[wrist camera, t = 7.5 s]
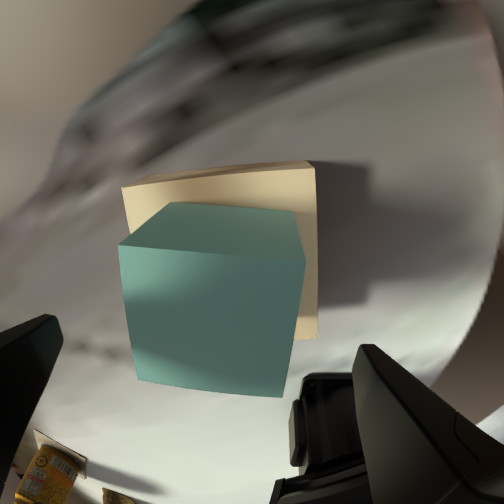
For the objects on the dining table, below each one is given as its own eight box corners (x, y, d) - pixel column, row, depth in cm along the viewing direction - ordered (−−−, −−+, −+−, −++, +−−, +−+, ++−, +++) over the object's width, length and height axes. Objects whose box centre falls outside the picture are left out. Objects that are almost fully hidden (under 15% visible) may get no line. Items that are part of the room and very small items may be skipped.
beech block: (304, 159, 15) (314, 168, 12) (309, 301, 18) (317, 338, 15) (149, 175, 16) (121, 187, 13) (175, 308, 19) (158, 343, 16)
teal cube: (292, 211, 13) (306, 261, 8) (279, 317, 15) (282, 397, 10) (169, 202, 13) (118, 245, 8) (172, 307, 15) (137, 379, 10)
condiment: (40, 454, 30) (9, 515, 19) (34, 427, 27) (-6, 499, 16) (85, 478, 30) (59, 543, 19) (86, 456, 27) (53, 535, 16)
